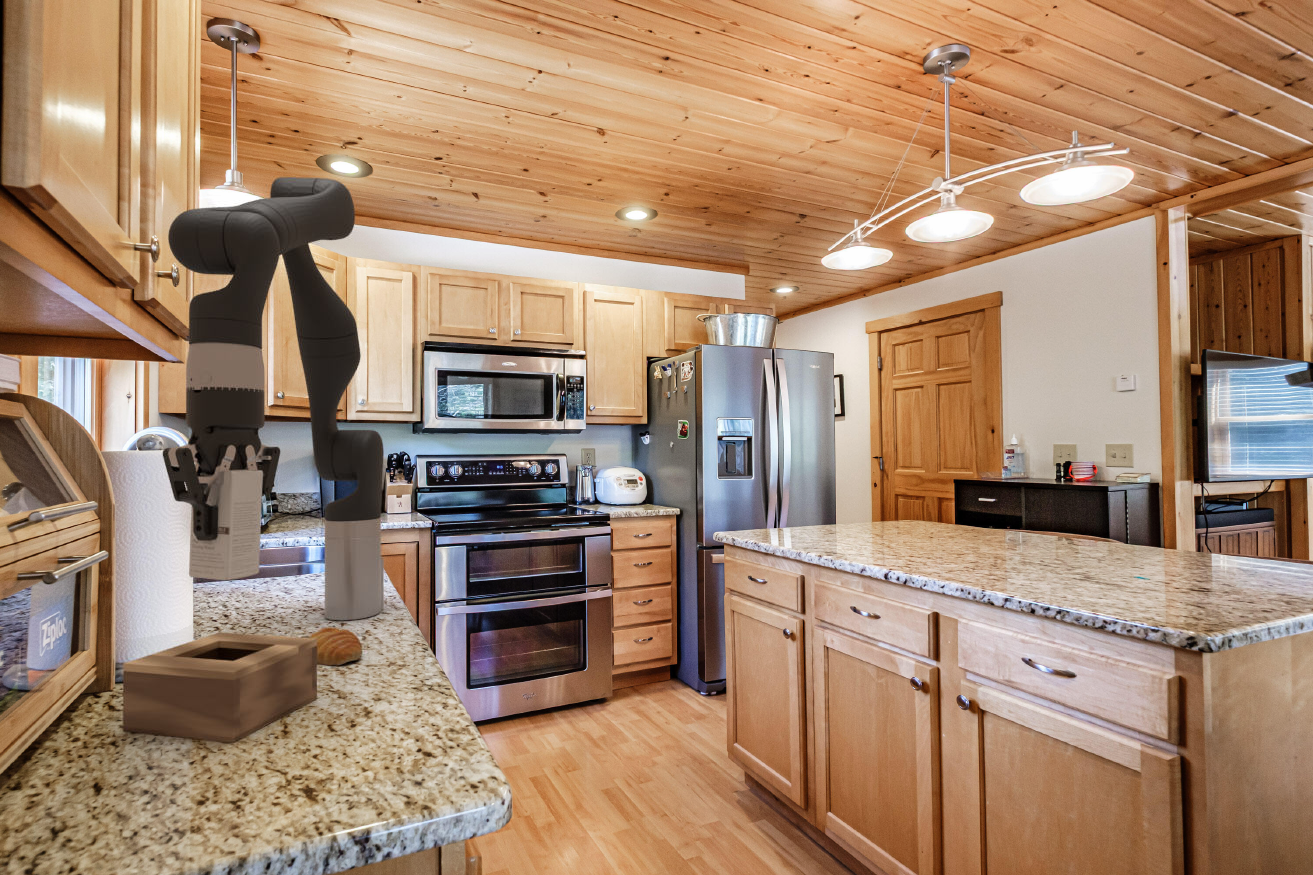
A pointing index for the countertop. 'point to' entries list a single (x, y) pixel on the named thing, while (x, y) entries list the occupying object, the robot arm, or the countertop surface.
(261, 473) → the skincare box
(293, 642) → the slot box
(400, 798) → the countertop surface
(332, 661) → the pastry
